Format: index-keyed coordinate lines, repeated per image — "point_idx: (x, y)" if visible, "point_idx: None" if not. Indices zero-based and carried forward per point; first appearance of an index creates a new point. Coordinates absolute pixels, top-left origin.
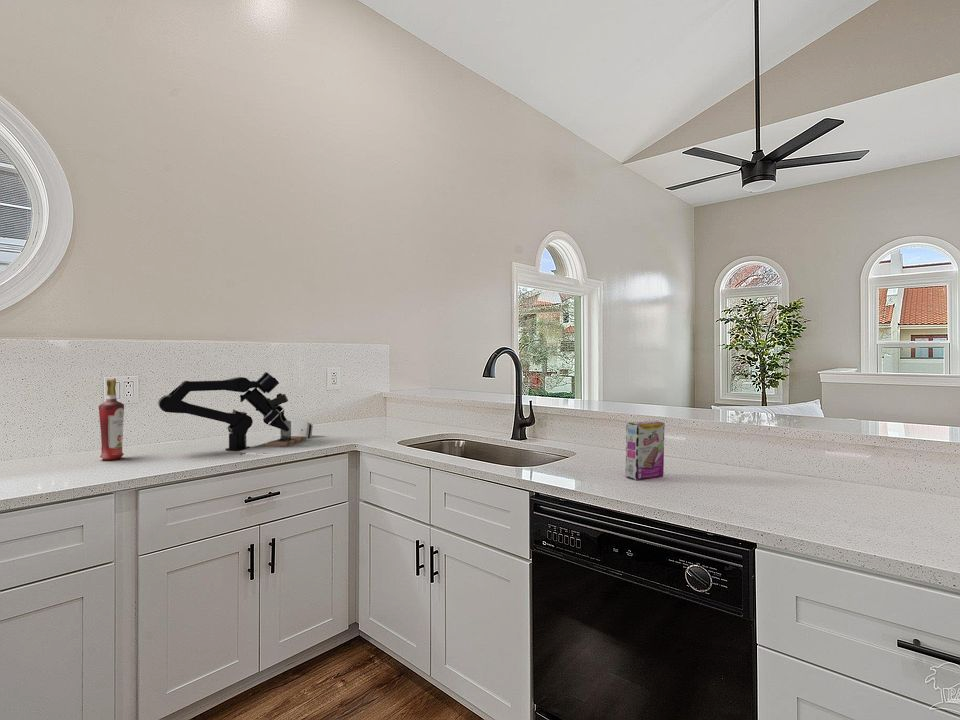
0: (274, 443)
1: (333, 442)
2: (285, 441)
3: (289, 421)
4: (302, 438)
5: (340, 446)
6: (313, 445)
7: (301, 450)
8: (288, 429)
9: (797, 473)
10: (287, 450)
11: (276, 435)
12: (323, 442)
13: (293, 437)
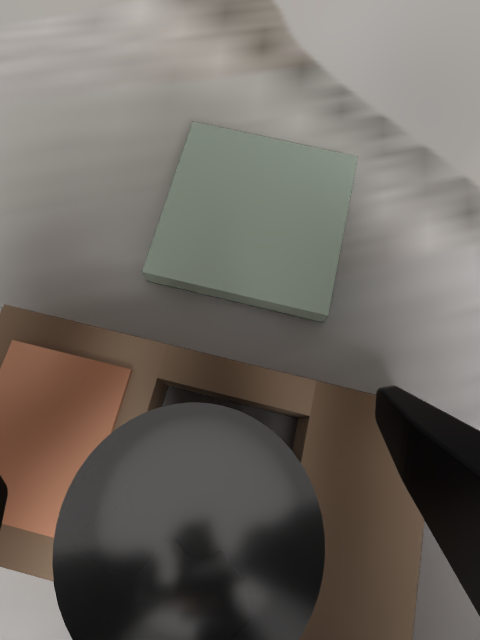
0: (414, 560)
1: (76, 112)
2: (329, 450)
3: (255, 419)
4: (88, 326)
5: (267, 47)
6: (336, 193)
7: (435, 273)
8: (398, 399)
9: None
10: (441, 391)
11: None
12: (189, 146)
13: (78, 424)
